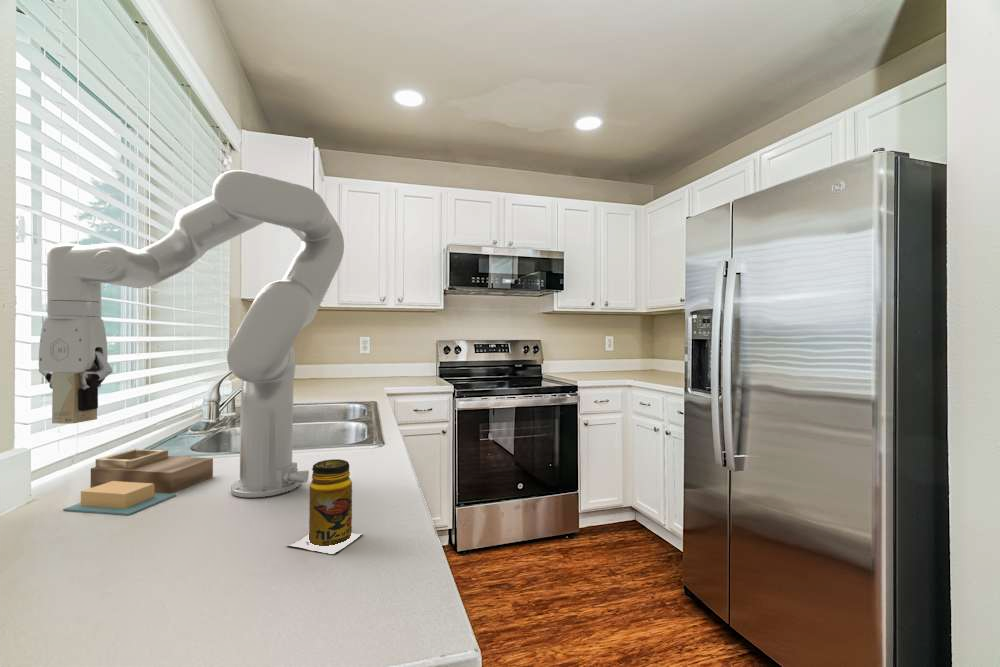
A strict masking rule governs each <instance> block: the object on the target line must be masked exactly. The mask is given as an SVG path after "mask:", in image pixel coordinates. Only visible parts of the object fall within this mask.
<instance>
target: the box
mask: <svg viewBox="0 0 1000 667" xmlns="http://www.w3.org/2000/svg"><path fill="white" fill-rule="evenodd" d="M86 371H90V369H87V370H86ZM87 376H88V380H89V378H90V377H91V375H87ZM78 389H82V387H81V383H80V379H79V373H55V372H53V389H52V394H51V395H52V396H51V397H52V403H51V405H52V406H51V407H52V408H51V424H58V425H59V424H64V425H65V424H67V425H69V424H79V423H83V422H90V421H95V420H98V408H97V409H93V410H87V411H79V409H78Z"/></svg>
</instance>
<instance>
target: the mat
mask: <svg viewBox="0 0 1000 667" xmlns="http://www.w3.org/2000/svg"><path fill="white" fill-rule="evenodd" d="M176 496H177V493H157V492H154V497H153V498H150V499H148V500H145V501H143V502H140V503H137V504H135V505H132V506H130V507H127V508H112V507H98V506H84V505H81V502H79V503H76V504H74V505H71V506H68V507H64V508H63V509H62V511H63V510H67V511H66V512H77V513H92V514H105V515H106V514H107V515H120V516H121V515H122V516H130V515H132V514H136V513H137V512H141V511H143V510H146V509H149V508H150V507H152V506H155V505H157V504H159V503H162V502H164V501H167V500H169V499H172V498H174V497H176Z"/></svg>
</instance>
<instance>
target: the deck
mask: <svg viewBox="0 0 1000 667" xmlns="http://www.w3.org/2000/svg"><path fill="white" fill-rule="evenodd" d="M213 475H214V458H213V457H198V456H197V457H195V456H180V455H179V456H176V455H174V456H173V455H169V450H168V449H167V450H166V449H165V450H163V449H146V448H145V449H144V448H134V449H130V450H126V451H122V452H119V453H115V454H110V455H107V456H103V457H100V458H96V459H95V466H94V467H91V468H90V487H89V488H93V487H96V486H99V485H102V484H105V483H108V482H111V481H120V482H137V483H153V484H154V493H166V494H174V493H176V492H178V491H180V490H183V489H185V488H189V487H190V486H193V485H196V484H198V483H201V482H203V481H205V480H209V479H211V478H213ZM210 477H211V478H210Z"/></svg>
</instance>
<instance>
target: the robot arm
mask: <svg viewBox="0 0 1000 667" xmlns="http://www.w3.org/2000/svg"><path fill="white" fill-rule="evenodd" d="M211 191H212V195H211V196H208V197H206V198H204V199H201V200H200V201H198V202H196V203H193V204H191V205H188V206H186V207H184V208H182V209H180V210H179V211H178V212H177V213H176V216H175V220H174V225H173V228H172V229H171V231H170V232H169V233H168V234H167V235H166V236H164V237H163V238H161V239H160V240H158V241H156V242H154V243H152V244H150V245H147V246H145V247H142V248H141V249H137V248H133V247H130V246H126V245H123V244H119V243H109V242H108V243H97V244H87V245H85V244H83V245H82V244H75V243H56V244H51V245H50V246H49V247H48V249H47V251H46V267H47V270H46V271H47V272H46V273H47V274H46V279H47V280H46V284H47V285H46V286H47V287H46V288H47V289H46V292H47V296H46V297H47V299H46V300H47V304H46V305H47V307H46V308H47V311H46V312H47V318H44V321H43V323H42V328H41V331H40V338H39V349H38V372H39V373H40V374H41V375H42V376H43V377H44V378H45V379H46V381H47V382H48V384H49V389H51V390H53V372H55V373H79V379H80V383H81V387H82V389H78V409H79V411H87V410H93V409H97V410H98V408H99V388H101V386H102V383H103V382H104V380H106V378H107V377H108V376H109V375H111V373H112V372H113V368H112V367H111V365H110V364H109V362H108V356H109V355H108V340H107V334H106V327H105V323H104V320H103V319H102V284H110V285H114V286H121V287H129V288H133V289H134V288H135V289H143V288H149V287H152V286H154V285H158V284H159V283H161V282H163V281H166V280H167V279H169V278H171V277H173V276H175V275H177V274H179V273H181V272H183V271H185V270H186V269H187V268H189V267H191V266H192V265H193V264H195V262H197V261H198V260H199V259H200V258H202V257H203V256H204V255H205V253H207V252H209V250H211V249H213V248H215V247H217V246H220V245H221V244H223V243H225V242H227V241H230V240H232V239H233V238H235V237H237V236H239V235H241V234H242V235H243V233H246V232H248V231H250V230H252V229H254V228H256V227H258V226H260V225H262V224H264V223H267V224H270V225H271V224H272V225H276V226H279V227H283V228H287V229H290V230H291V232H293V233H294V234H295V235H296V236H297V237H299V240H300V241H301V245H300V248H299V250H298V251H297V253H296V254H295V256H294V257H293V259H292V260H291V263H290V265H289V267H288V269H287V271H286V272H285V274H284V276H283V277H282V279H278V280H274V281H272V282H269V283H267V284H266V285H265V286H263V287H262V288H261V289H260V291H259V292H258V293H257V295H256V296H255V298H254V300H253V302H252V303H251V305H250V306H249V309H248V311H247V312H246V314H245V316H244V317H243V320H242V321H241V324H239V327H238V329H237V331H235V332H236V333H235V334H234V335H233V336H234V337H233V338H232V340H231V342H230V345H229V347H228V349H227V354H226V357H227V358H226V363H227V365H228V368H229V370H230V371H231V373H232V374H233V376H235V377H236V378H238V379H240V380H241V381H242V383H241V392H240V417H239V418H240V420H239V421H240V422H239V424H240V426H239V428H240V429H239V432H240V433H239V434H240V435H239V437H240V438H239V448H240V449H239V480H237V481H235V482H233V483H232V485H230V493H231V494H232V495H233V496H236V497H239V498H250V499H251V498H265V497H266V496H267V497H271V496H272V497H273V496H277V494H278V495H282V494H285V492H286V493H288V491H289V492H291V491H293V490H295V489H296V487H297V488H299V486H300V484H301V483H302V484H306V483H307V482H308V480H309V474H310V471H309V470H304V469H302V470H301V469H300V470H299V469H298V462H293V422H294V421H293V417H294V416H293V414H294V413H293V411H294V386H295V385H294V384H295V373H296V352H295V348H294V346H293V345H294V343H295V341H296V340H297V337H298V335H299V334H300V332H301V330H302V329H303V328H304V329H305V327H307V326H308V325H309V324H311V323H312V321H313V320H314V319H315V316H316V314H317V312H318V310H319V308H320V305H321V303H322V301H323V300H324V298H325V296H326V295H327V294H326V293H327V292H328V290H329V288H330V286H331V283H332V281H333V279H334V278H335V275H336V273H337V271H338V270H339V267H340V265H341V262H342V259H343V257H344V252H345V241H344V235H343V232H342V229H341V228H340V226H339V224H338V222H337V221H336V219H335V218H334V216H333V214H332V213H331V212H330V209H329V208H328V206H327V204H326V202H325V201H324V198H323V197H322V196H321V195H320V194H319V193H318V192H316V191H315V190H314V189H311V188H310V187H307V186H305V185H301V184H297V183H295V182H291V181H287V180H282V179H279V178H274V177H271V176H267V175H263V174H259V173H256V172H251V171H247V170H239V169H233V170H229V171H225V172H224V173H221V174H220V175H219V176H217V178H216V179H215V180H214V182H213V184H212V190H211ZM87 369H90V371H86V370H87ZM87 375H91V377H90V378H89V380H88V376H87ZM281 493H282V494H281ZM267 497H266V498H267Z"/></svg>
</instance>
